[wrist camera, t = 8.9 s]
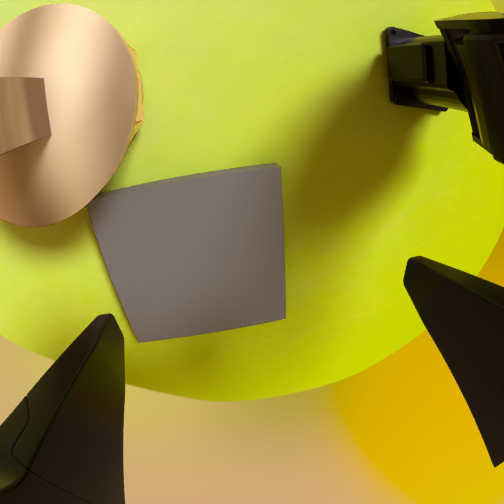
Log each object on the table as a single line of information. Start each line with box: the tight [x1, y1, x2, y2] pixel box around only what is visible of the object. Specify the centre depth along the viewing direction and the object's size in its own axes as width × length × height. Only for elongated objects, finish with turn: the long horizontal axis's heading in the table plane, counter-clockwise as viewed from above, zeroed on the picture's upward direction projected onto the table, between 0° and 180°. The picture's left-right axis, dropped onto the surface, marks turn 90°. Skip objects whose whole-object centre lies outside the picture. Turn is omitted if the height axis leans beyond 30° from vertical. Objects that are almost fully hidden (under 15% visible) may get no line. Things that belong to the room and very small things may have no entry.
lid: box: [0, 4, 139, 227], centre depth 8 cm, size 12×12×5 cm
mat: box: [86, 163, 286, 343], centre depth 21 cm, size 13×13×1 cm
